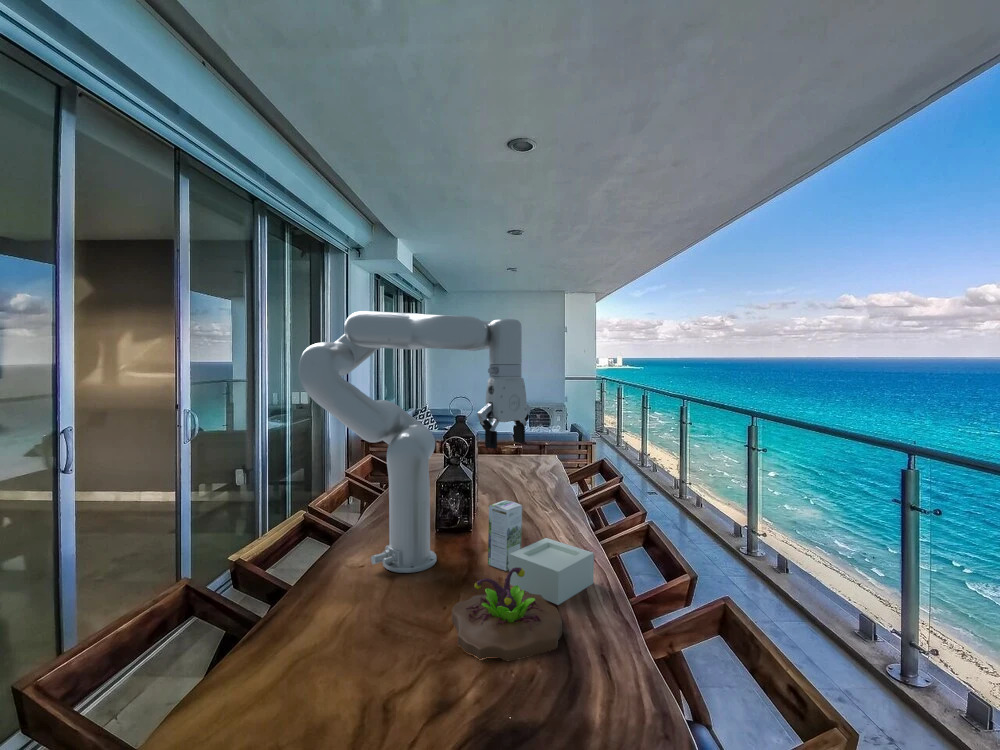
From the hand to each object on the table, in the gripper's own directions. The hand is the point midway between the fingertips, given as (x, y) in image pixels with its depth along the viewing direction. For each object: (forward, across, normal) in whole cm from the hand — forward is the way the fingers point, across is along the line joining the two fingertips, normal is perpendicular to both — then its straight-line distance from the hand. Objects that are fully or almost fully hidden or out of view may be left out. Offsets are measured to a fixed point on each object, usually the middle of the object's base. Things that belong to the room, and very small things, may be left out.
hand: (505, 445), depth 118 cm
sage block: (+29, -1, -14) cm, 32 cm away
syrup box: (+29, 0, 0) cm, 29 cm away
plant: (+29, -20, -19) cm, 40 cm away
